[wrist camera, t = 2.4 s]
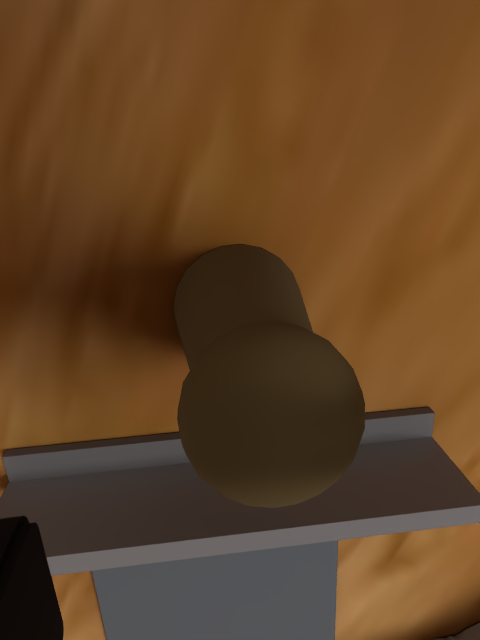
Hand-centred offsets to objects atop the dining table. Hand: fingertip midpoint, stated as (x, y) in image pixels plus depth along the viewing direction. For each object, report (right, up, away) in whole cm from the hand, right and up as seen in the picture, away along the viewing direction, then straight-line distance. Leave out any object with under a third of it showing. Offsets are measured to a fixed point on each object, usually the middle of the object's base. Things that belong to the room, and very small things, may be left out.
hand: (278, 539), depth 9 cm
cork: (-1, +5, +12) cm, 13 cm away
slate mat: (-2, -12, +18) cm, 22 cm away
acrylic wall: (-1, -3, +15) cm, 16 cm away
